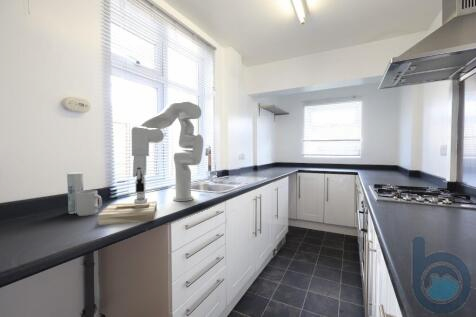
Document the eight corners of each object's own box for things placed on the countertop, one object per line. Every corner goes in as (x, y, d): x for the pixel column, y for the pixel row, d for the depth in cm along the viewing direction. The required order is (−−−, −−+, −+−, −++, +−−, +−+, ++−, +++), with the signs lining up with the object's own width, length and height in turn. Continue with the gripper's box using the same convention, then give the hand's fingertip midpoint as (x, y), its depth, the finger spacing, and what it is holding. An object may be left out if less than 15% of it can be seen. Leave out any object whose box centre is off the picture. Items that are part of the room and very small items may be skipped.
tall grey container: (66, 212, 109) (64, 173, 109) (81, 209, 115) (79, 172, 114) (71, 214, 106) (70, 174, 105) (86, 211, 111) (85, 172, 110)
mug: (72, 215, 105) (72, 193, 104) (87, 210, 113) (86, 189, 112) (94, 216, 103) (94, 193, 102) (108, 211, 111) (107, 190, 111)
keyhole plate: (110, 213, 109) (109, 204, 108) (156, 209, 115) (156, 201, 115) (98, 225, 92) (98, 214, 91) (153, 220, 98) (153, 210, 98)
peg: (135, 201, 106) (135, 179, 106) (147, 200, 108) (147, 178, 107) (133, 204, 101) (133, 180, 100) (146, 203, 102) (146, 180, 102)
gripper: (134, 152, 110) (135, 188, 111) (128, 153, 94) (128, 194, 95) (150, 152, 112) (150, 187, 113) (147, 153, 96) (147, 193, 97)
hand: (140, 190), depth 104 cm, fingers closed on peg, 4 cm apart
